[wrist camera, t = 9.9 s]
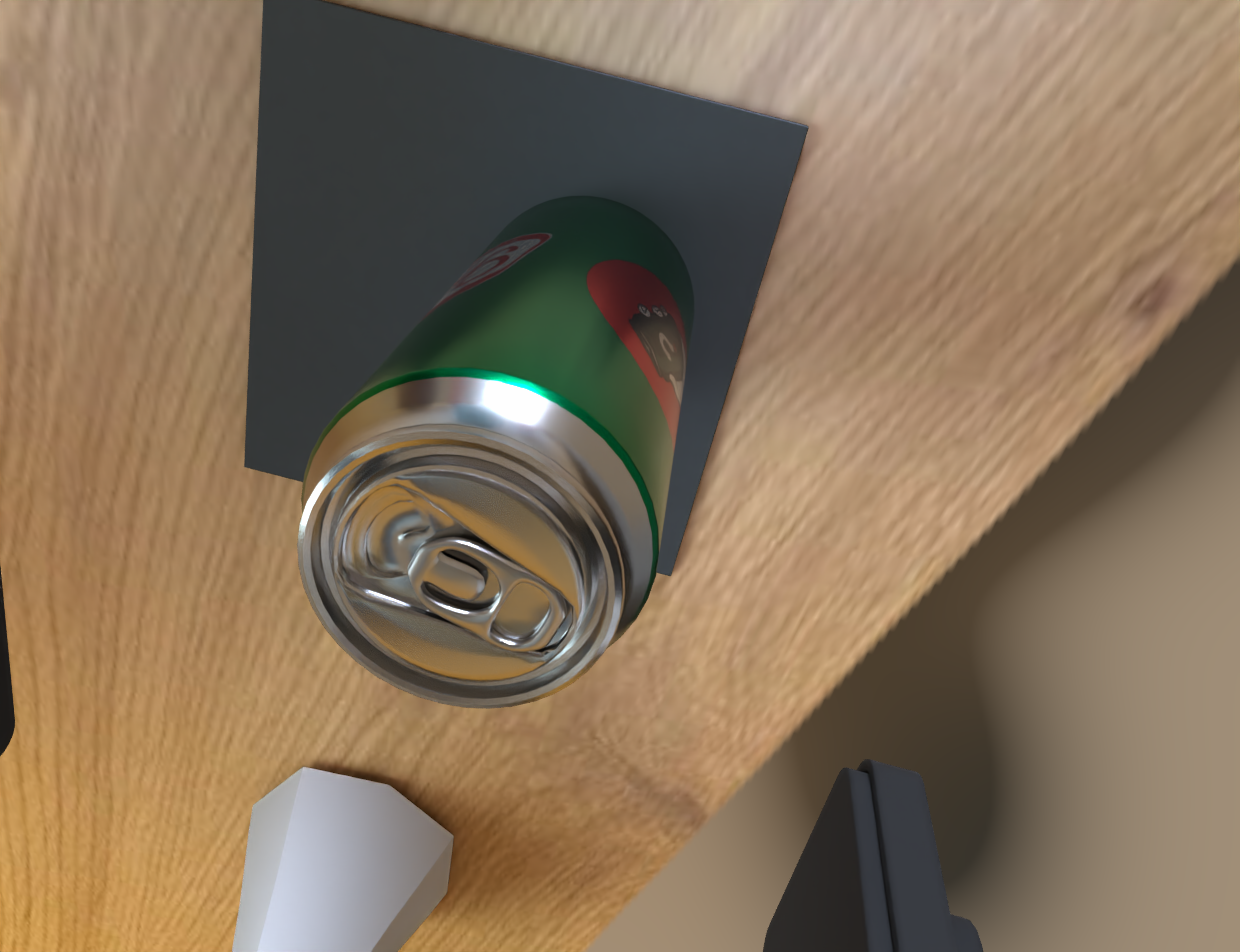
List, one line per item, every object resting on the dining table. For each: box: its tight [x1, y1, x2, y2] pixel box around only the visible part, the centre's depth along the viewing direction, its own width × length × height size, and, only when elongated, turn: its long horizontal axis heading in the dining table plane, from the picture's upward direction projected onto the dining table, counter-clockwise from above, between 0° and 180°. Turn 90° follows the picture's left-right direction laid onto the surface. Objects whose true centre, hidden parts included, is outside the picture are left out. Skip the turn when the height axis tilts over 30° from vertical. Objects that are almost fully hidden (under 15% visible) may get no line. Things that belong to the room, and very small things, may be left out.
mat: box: [244, 0, 808, 576], centre depth 24 cm, size 12×12×1 cm
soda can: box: [297, 196, 694, 708], centre depth 18 cm, size 5×5×12 cm
